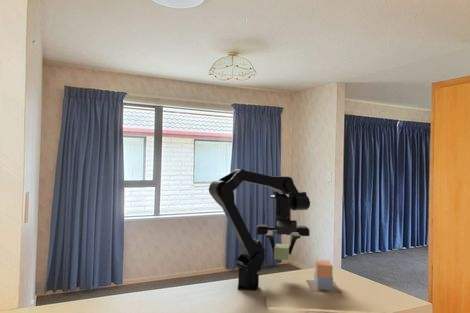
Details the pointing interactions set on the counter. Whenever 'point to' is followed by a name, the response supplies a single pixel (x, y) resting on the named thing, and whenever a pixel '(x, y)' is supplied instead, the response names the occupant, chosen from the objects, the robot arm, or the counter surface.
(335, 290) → the walnut board
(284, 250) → the olive brick
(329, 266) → the terracotta brick
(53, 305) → the counter surface
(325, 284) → the base brick
